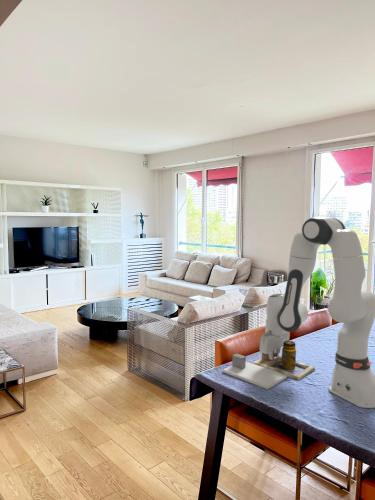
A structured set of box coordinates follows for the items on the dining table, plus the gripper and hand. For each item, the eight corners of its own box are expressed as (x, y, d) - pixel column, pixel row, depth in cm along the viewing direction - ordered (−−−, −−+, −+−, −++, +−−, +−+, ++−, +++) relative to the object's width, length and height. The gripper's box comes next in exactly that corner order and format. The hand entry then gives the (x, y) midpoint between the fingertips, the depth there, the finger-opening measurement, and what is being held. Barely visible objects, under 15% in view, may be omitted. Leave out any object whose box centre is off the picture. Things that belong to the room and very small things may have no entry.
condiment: (298, 370, 170) (300, 344, 168) (281, 372, 168) (282, 345, 167) (291, 364, 177) (292, 339, 176) (274, 365, 175) (275, 340, 174)
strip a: (314, 369, 171) (315, 356, 170) (298, 379, 160) (299, 365, 159) (270, 356, 186) (271, 343, 185) (253, 364, 175) (253, 351, 175)
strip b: (286, 378, 161) (287, 363, 161) (267, 389, 151) (268, 374, 150) (243, 362, 177) (243, 349, 176) (222, 372, 166) (223, 358, 165)
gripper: (269, 335, 165) (267, 366, 166) (292, 325, 180) (291, 354, 181) (256, 331, 170) (255, 362, 171) (280, 323, 184) (279, 350, 186)
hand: (274, 358), depth 176 cm, fingers closed on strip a, 3 cm apart
